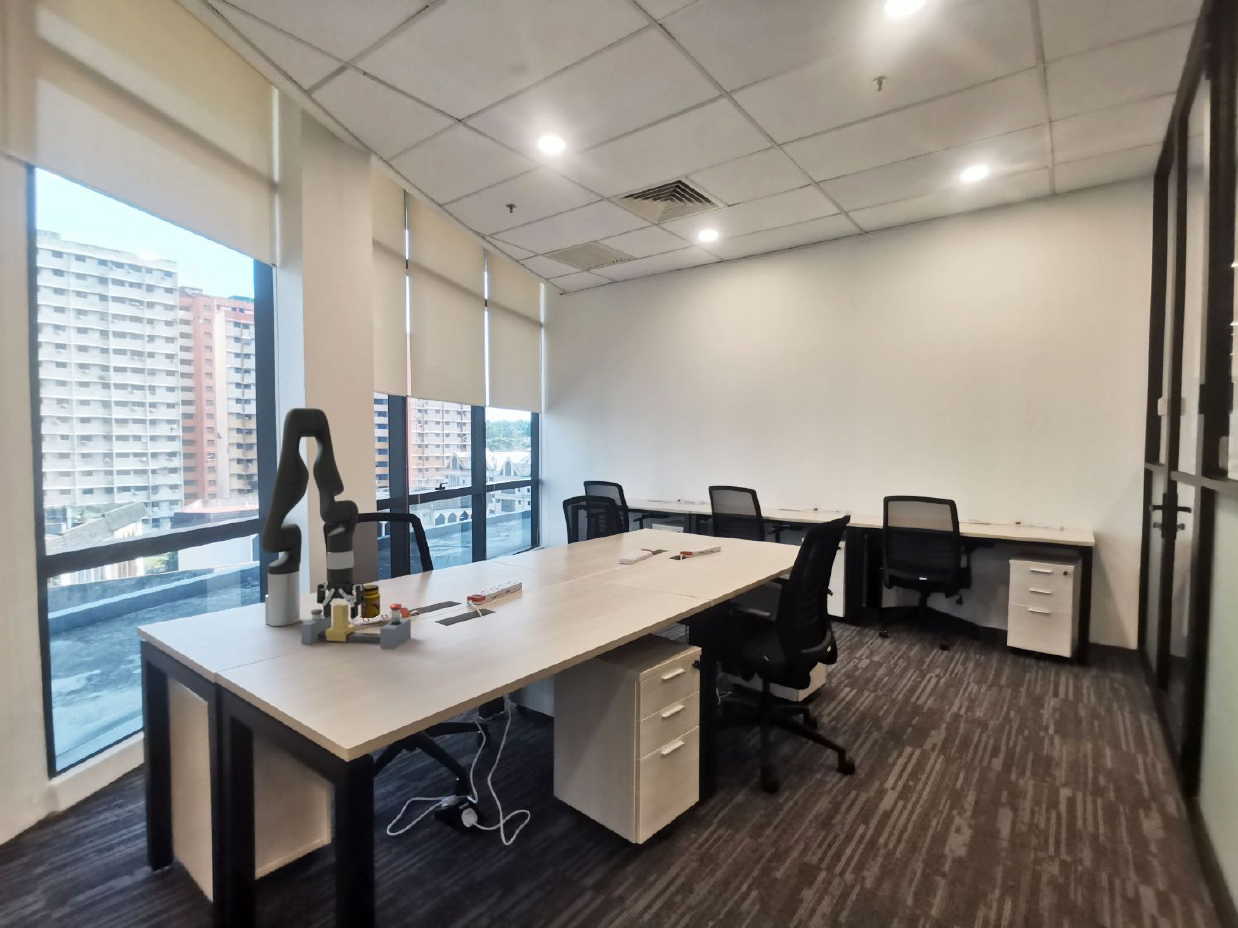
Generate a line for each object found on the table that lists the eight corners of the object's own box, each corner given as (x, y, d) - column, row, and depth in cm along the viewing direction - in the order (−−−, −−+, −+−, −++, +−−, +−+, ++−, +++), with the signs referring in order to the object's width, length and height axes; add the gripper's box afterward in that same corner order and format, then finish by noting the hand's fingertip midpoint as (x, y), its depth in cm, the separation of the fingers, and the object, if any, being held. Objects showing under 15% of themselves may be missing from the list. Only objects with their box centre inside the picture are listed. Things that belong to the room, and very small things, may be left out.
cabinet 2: (380, 648, 166) (380, 628, 166) (397, 636, 176) (397, 617, 176) (394, 648, 166) (394, 628, 165) (410, 637, 176) (410, 618, 175)
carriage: (325, 640, 170) (325, 607, 170) (337, 634, 176) (337, 602, 176) (344, 641, 170) (343, 608, 169) (355, 635, 176) (355, 602, 175)
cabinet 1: (301, 643, 169) (301, 615, 169) (322, 632, 179) (322, 605, 179) (310, 644, 169) (310, 615, 168) (331, 633, 179) (331, 606, 178)
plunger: (388, 625, 169) (388, 606, 169) (393, 622, 172) (393, 603, 172) (398, 625, 169) (398, 606, 169) (403, 622, 172) (403, 603, 172)
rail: (318, 640, 172) (318, 633, 172) (324, 637, 175) (324, 630, 175) (386, 644, 170) (386, 637, 170) (391, 640, 173) (391, 634, 172)
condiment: (384, 621, 191) (384, 586, 191) (358, 626, 185) (358, 591, 185) (376, 616, 197) (376, 582, 196) (350, 621, 191) (350, 586, 190)
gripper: (310, 567, 169) (311, 620, 170) (354, 568, 168) (355, 622, 168) (326, 562, 177) (327, 613, 177) (368, 563, 175) (369, 614, 175)
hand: (340, 617), depth 173 cm, fingers open, 8 cm apart
